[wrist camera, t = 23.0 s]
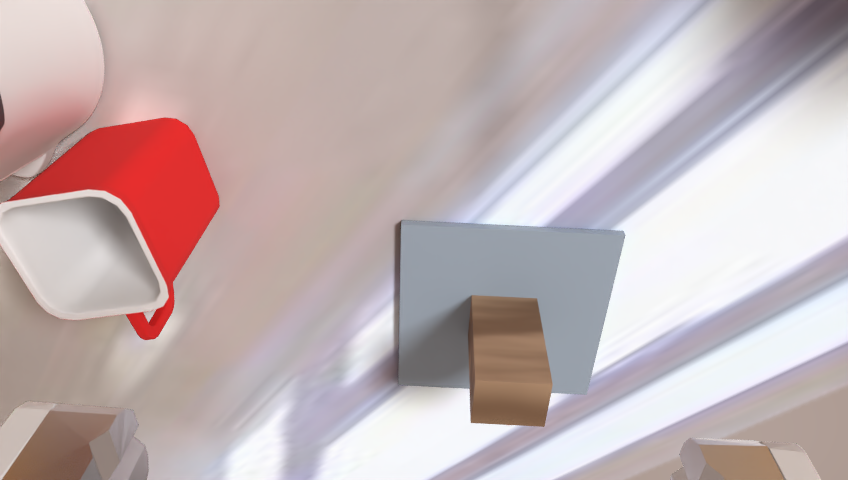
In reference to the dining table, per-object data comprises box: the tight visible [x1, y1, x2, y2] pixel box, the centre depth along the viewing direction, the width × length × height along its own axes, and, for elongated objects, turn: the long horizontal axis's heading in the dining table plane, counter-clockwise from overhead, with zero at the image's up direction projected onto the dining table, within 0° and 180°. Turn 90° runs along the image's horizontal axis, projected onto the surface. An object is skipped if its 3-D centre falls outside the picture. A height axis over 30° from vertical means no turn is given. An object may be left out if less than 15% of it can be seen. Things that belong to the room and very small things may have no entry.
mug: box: [0, 118, 220, 340], centre depth 41 cm, size 12×8×11 cm
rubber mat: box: [398, 220, 625, 395], centre depth 50 cm, size 16×16×1 cm
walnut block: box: [468, 295, 553, 427], centre depth 46 cm, size 4×5×9 cm
